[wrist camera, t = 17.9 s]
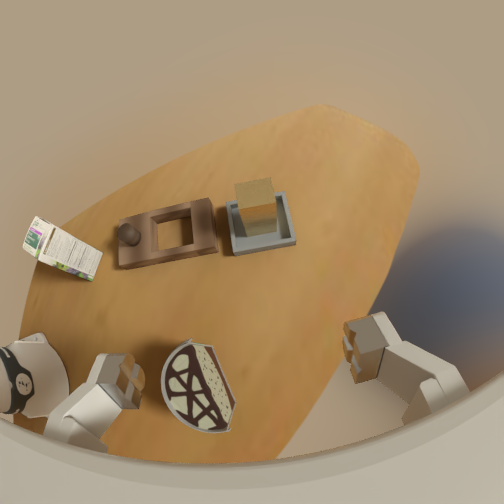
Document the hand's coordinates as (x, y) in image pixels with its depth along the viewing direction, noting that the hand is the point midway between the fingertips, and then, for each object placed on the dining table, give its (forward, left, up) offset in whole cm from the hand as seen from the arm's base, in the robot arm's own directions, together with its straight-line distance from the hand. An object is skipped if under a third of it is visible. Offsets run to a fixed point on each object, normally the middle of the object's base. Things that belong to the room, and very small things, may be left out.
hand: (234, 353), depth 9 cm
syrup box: (-30, +16, -30) cm, 45 cm away
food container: (-10, -6, -30) cm, 32 cm away
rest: (+2, +16, -29) cm, 34 cm away
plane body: (-13, +17, -29) cm, 37 cm away
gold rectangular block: (+2, +16, -29) cm, 33 cm away
